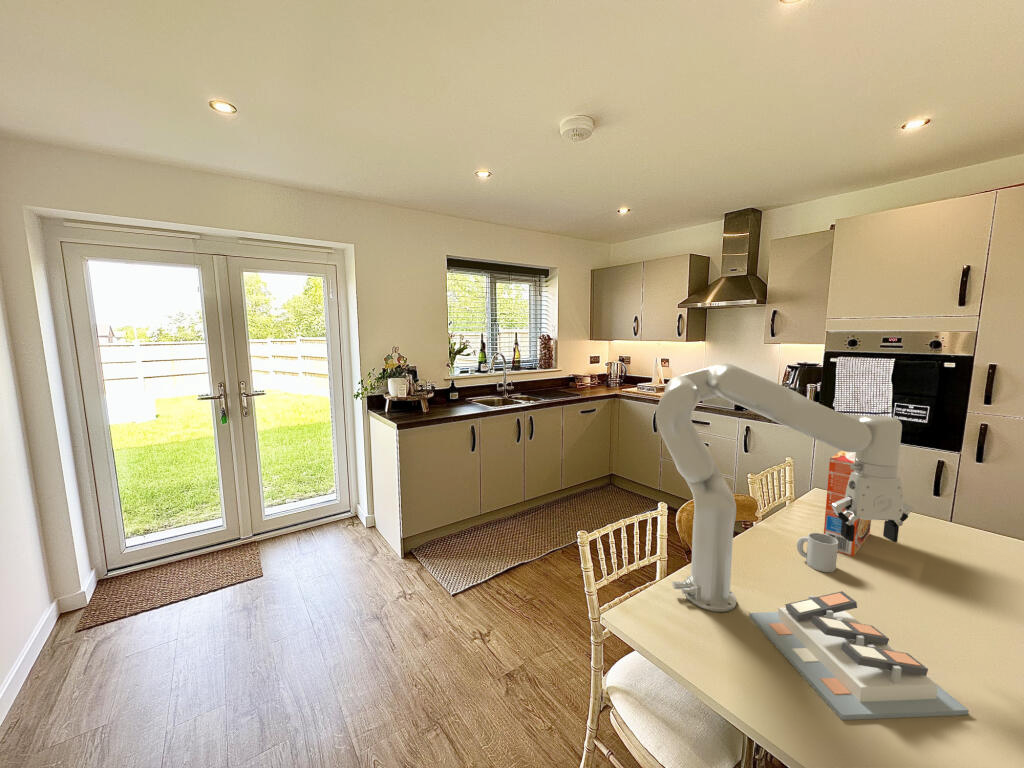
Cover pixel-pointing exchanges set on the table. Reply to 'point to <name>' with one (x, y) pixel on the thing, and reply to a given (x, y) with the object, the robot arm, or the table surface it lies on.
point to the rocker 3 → (883, 658)
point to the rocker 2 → (849, 630)
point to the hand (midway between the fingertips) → (868, 539)
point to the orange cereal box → (836, 492)
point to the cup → (819, 551)
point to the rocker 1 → (820, 605)
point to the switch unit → (853, 672)
